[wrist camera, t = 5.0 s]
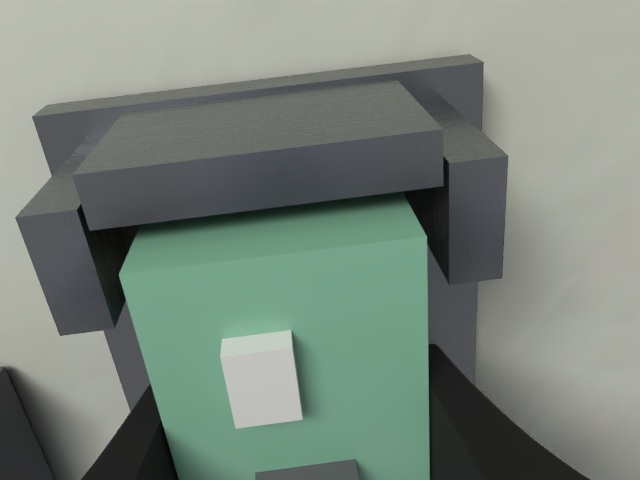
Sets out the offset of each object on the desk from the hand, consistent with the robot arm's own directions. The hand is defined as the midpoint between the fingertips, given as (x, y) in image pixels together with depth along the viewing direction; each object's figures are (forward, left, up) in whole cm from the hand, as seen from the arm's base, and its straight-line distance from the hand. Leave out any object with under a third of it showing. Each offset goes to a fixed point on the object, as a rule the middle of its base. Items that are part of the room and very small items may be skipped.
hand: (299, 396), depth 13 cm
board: (0, 0, 0) cm, 0 cm away
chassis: (0, 0, -4) cm, 4 cm away
